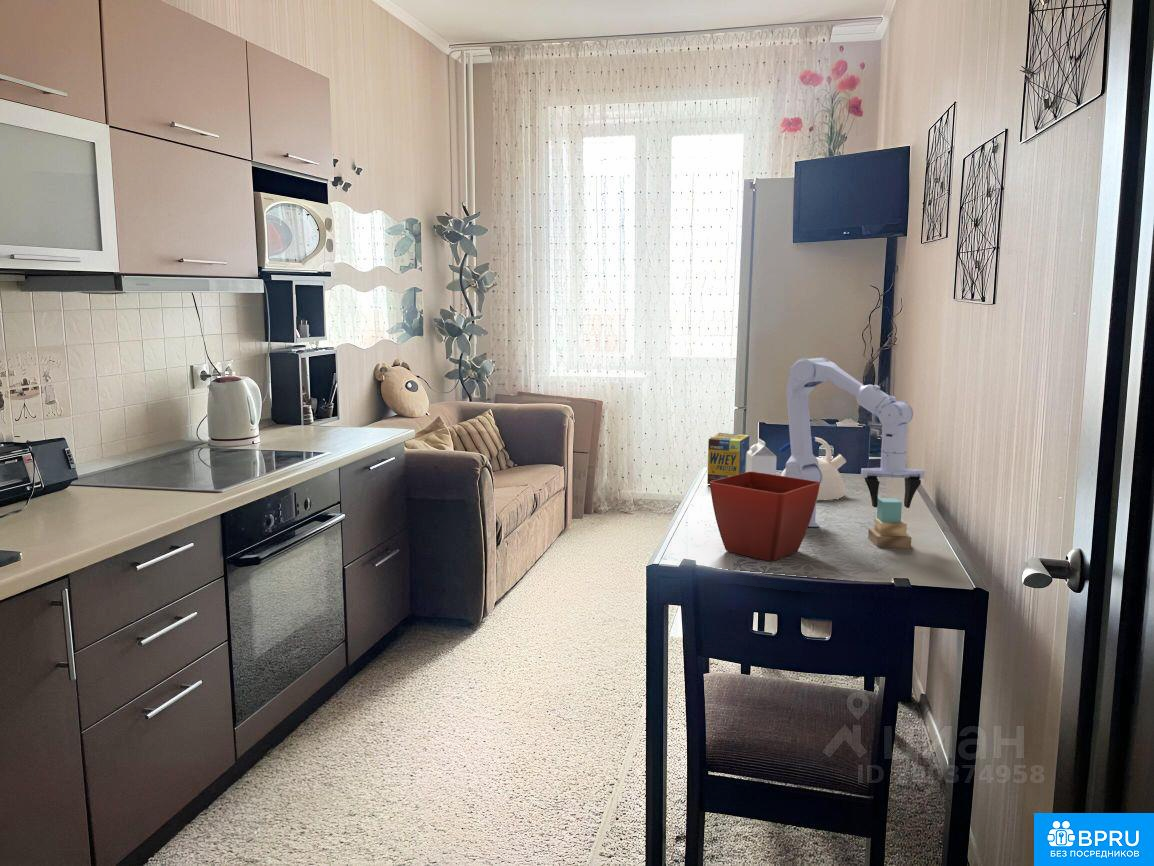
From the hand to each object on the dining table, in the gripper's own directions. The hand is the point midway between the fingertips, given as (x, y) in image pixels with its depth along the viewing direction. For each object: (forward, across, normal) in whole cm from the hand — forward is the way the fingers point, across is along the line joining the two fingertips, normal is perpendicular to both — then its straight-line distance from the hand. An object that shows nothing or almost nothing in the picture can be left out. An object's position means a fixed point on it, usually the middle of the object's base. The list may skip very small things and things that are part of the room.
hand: (890, 506), depth 207 cm
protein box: (+9, -32, +71) cm, 78 cm away
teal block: (+3, 0, 0) cm, 3 cm away
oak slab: (+6, 0, 0) cm, 6 cm away
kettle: (+9, -8, +56) cm, 57 cm away
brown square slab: (+9, 0, 0) cm, 9 cm away
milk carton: (+9, -26, +39) cm, 48 cm away
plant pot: (+9, -32, -11) cm, 35 cm away
